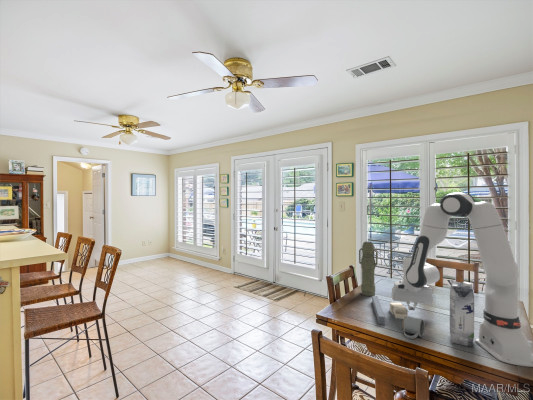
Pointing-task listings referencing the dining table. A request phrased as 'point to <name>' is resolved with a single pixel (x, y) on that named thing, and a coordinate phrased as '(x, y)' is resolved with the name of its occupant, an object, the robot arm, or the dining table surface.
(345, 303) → the dining table surface
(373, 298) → the grey rectangular bar
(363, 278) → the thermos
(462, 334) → the juice carton
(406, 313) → the birch block
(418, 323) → the ceramic mug
